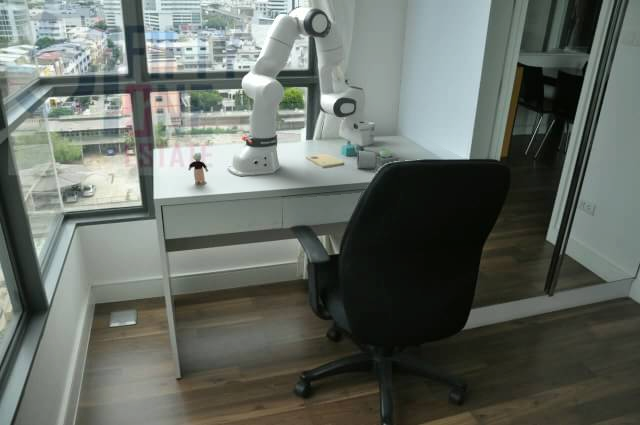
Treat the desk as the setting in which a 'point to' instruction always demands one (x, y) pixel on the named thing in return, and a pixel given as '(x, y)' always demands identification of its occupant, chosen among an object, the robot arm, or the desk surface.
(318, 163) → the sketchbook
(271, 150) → the robot arm
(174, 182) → the desk surface
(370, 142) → the light bulb box
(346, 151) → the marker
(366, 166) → the ceramic mug
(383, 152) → the button
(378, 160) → the button housing
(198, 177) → the grandmother figurine
